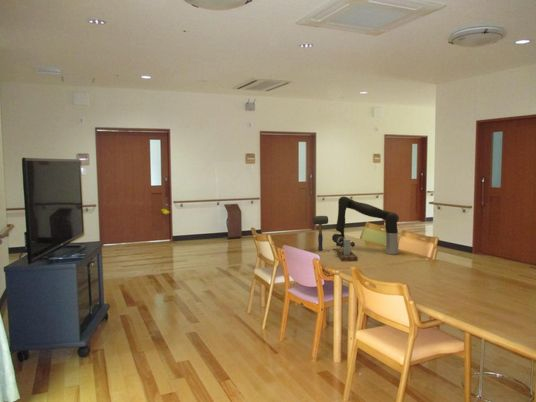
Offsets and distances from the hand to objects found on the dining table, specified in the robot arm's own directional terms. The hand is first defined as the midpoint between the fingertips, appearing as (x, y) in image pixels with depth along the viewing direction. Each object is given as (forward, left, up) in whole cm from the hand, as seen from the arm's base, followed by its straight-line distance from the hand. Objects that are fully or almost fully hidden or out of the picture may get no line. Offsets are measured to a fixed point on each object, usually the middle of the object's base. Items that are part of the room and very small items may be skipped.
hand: (347, 245), depth 327 cm
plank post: (0, -2, -10) cm, 10 cm away
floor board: (0, -2, -10) cm, 10 cm away
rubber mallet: (+16, -30, -10) cm, 36 cm away
